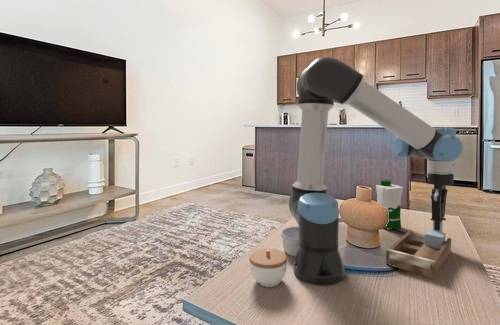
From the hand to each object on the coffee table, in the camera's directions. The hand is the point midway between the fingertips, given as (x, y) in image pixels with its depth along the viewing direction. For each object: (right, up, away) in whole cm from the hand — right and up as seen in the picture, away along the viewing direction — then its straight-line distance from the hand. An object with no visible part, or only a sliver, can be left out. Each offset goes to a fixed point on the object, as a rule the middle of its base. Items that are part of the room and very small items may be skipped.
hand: (437, 238), depth 100 cm
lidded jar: (-61, -8, -18) cm, 64 cm away
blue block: (-3, -2, -3) cm, 4 cm away
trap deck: (-10, -5, -7) cm, 13 cm away
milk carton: (-6, -1, +23) cm, 24 cm away
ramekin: (-48, -5, +2) cm, 49 cm away
